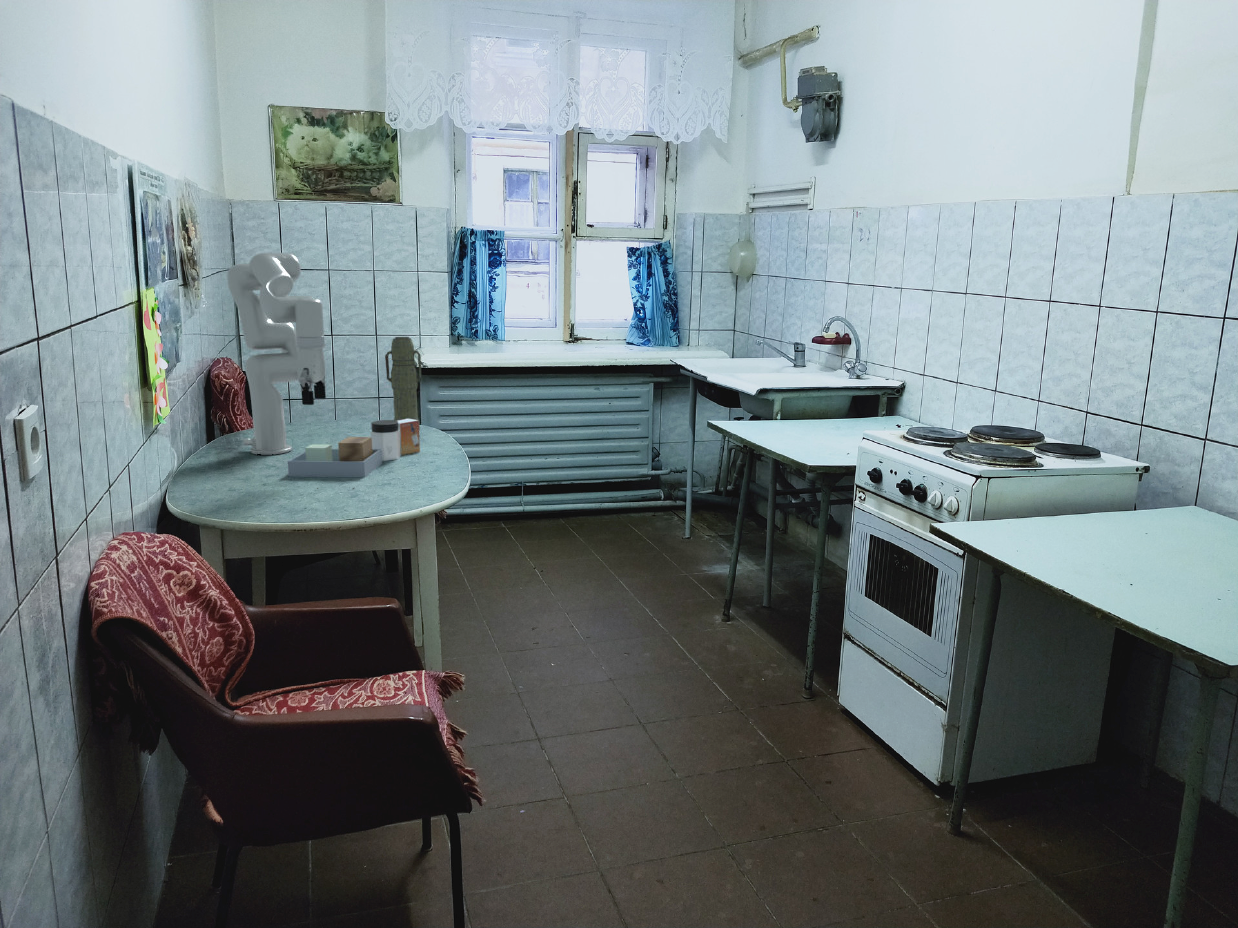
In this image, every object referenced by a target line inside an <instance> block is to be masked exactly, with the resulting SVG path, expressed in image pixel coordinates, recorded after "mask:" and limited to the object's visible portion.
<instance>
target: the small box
mask: <svg viewBox="0 0 1238 928" xmlns="http://www.w3.org/2000/svg"><path fill="white" fill-rule="evenodd" d="M419 424H420V420H419V421H418V420H413V419H404V420H398V429H399V436H400V455H401V456H405V455H409V454H416V453H420V452H421V447H420V446H421V443H420V441H421V440H420V437H419V435H420V430H419ZM415 452H416V453H415Z"/></svg>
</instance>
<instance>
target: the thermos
mask: <svg viewBox="0 0 1238 928" xmlns="http://www.w3.org/2000/svg"><path fill="white" fill-rule="evenodd" d="M415 354H416V355H417V358H418V359H417V360H418V361H417V362H418V365H417V366H418V372H417V369H416V364H415ZM389 355H391V361H392V365H391V367H392V368H391V371H390V366H389V365H390V363H389V360H390V359H389ZM384 359H385V371H386V380H387V381H389V382H390V383H391V389H392V393H393V414H394V417H393V420H394V421H398V420H404V419H413V420H418V421H419V422H420V419H419V417H418V415H419V414H418V400H417V399H418V398H417V389H418V382H421V381H422V359H421V353H420V352H419V351H418V350H416V349H415V346H414V343H413V340H412V337H410V336H395V337H394V338H392V342H391V350H390V351H387V353H386V354H385V355H384ZM420 425H421V424H420V423H419V431H420V428H421V427H420ZM419 438H421V437H420V434H419Z"/></svg>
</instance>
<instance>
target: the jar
mask: <svg viewBox="0 0 1238 928" xmlns="http://www.w3.org/2000/svg"><path fill="white" fill-rule="evenodd" d="M370 426H371V432H370V437H372V449H381V451H382V462H383V461H385V462H386V461H393V460H399V458H400V457H402V455H400V436H399V429H398V421H394V419H393V420H390V419H383V420H374V421H372V422H371V425H370Z"/></svg>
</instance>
